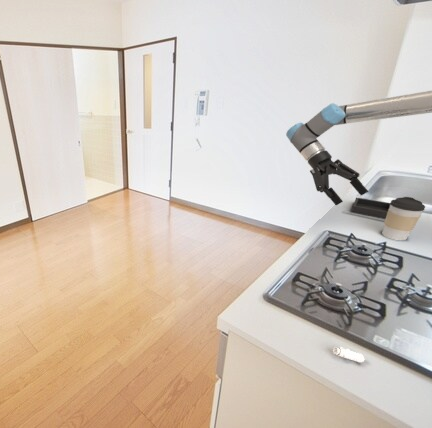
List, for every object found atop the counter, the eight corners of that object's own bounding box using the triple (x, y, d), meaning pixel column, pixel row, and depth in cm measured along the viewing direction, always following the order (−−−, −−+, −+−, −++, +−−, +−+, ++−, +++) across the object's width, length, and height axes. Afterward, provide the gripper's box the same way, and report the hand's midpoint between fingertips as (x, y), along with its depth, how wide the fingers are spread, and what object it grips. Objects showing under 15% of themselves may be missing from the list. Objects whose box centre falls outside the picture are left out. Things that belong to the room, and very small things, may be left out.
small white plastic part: (365, 373, 59) (370, 363, 58) (330, 357, 63) (334, 347, 62) (366, 361, 62) (370, 351, 60) (332, 346, 65) (336, 337, 64)
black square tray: (390, 209, 127) (392, 203, 126) (389, 219, 119) (392, 213, 118) (354, 203, 136) (356, 197, 134) (350, 212, 127) (353, 205, 126)
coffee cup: (410, 244, 101) (428, 206, 95) (377, 236, 107) (392, 201, 101) (410, 234, 107) (426, 198, 101) (378, 228, 113) (392, 193, 107)
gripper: (331, 154, 120) (366, 194, 112) (286, 168, 114) (320, 212, 106) (345, 142, 114) (384, 184, 106) (299, 157, 108) (336, 203, 100)
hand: (352, 198), depth 106 cm, fingers open, 13 cm apart
